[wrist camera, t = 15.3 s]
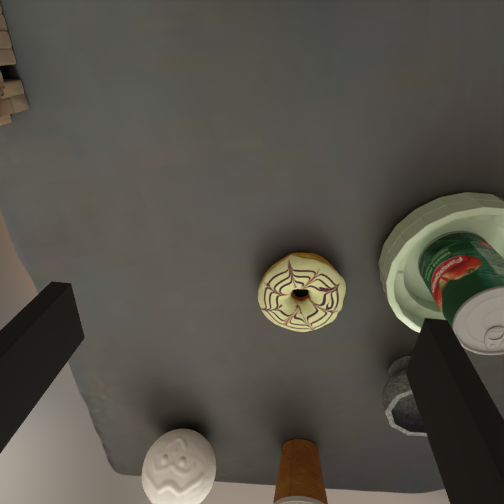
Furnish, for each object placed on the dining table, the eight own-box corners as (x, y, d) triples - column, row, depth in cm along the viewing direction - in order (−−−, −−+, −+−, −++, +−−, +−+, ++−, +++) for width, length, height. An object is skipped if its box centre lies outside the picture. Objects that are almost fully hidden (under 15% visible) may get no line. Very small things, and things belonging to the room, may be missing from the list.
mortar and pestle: (371, 392, 55) (390, 472, 44) (377, 346, 50) (399, 423, 40) (450, 394, 53) (488, 478, 43) (463, 347, 49) (509, 428, 38)
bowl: (396, 183, 39) (409, 200, 35) (556, 197, 38) (591, 215, 34) (365, 305, 47) (372, 331, 43) (496, 319, 46) (517, 346, 42)
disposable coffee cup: (323, 468, 65) (329, 547, 55) (271, 462, 66) (267, 538, 56) (330, 435, 61) (338, 515, 50) (274, 429, 62) (270, 506, 51)
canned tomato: (421, 232, 41) (460, 288, 31) (497, 228, 39) (562, 285, 30) (414, 290, 44) (447, 355, 35) (483, 287, 43) (537, 355, 34)
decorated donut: (358, 267, 45) (363, 285, 41) (317, 327, 50) (319, 346, 46) (281, 235, 43) (280, 250, 40) (248, 299, 49) (245, 318, 45)
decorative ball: (220, 417, 61) (205, 491, 51) (222, 458, 67) (209, 532, 57) (152, 410, 62) (124, 481, 52) (160, 451, 68) (136, 523, 58)
